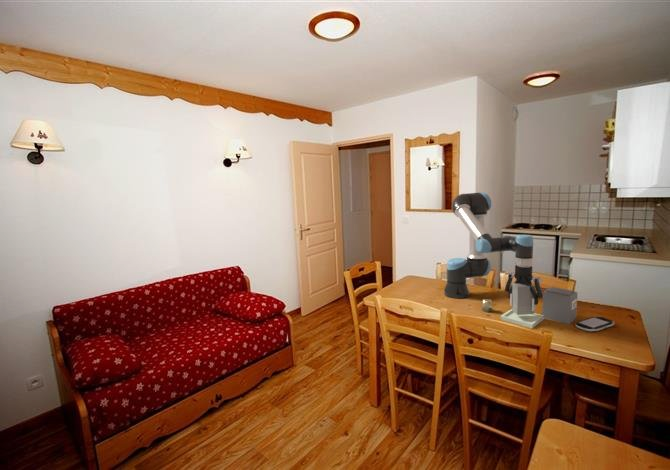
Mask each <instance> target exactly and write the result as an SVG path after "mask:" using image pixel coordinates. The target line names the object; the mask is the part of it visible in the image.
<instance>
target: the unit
mask: <svg viewBox="0 0 670 470" xmlns="http://www.w3.org/2000/svg"><path fill="white" fill-rule="evenodd" d="M542 295H543V297H542V304H541V305H542V306H541V307H542V308H541V309H542V310H541V311H542V312H541V315H544V319H546V320H551V321H555V322H558V323H563V324H566V325H570V324H572V322H574V321H575V320H576V319H577V310H578V291H575V290H571V289H567V288H560V287H556V286H550V287H548V288H546V289H545V290H544V291H542Z"/></svg>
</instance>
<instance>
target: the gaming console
mask: <svg viewBox="0 0 670 470" xmlns="http://www.w3.org/2000/svg"><path fill="white" fill-rule="evenodd" d="M574 325H575V326H574V327H575V328H577V329H578V330H581V331H583V332H587V333H596V332H599V331H602V330H605V329H608V328H610V327H613V326H614V325H615V321H614V320H611V319H609V318H606V317H603V316H592V317H589V318H586V319H582V320H579V321H577V322H575V324H574Z"/></svg>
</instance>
